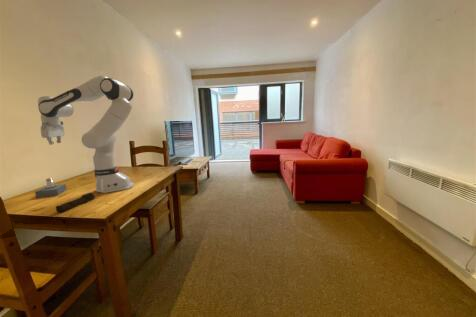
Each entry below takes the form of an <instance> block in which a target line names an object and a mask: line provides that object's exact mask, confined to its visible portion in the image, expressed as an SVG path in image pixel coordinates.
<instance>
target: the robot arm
mask: <svg viewBox="0 0 476 317" xmlns="http://www.w3.org/2000/svg"><path fill="white" fill-rule="evenodd" d="M104 96H105V97H106V98H107V99H108V100H110V101H111V104H110V106H109V107H108V108H107V110H106V112H105V113H104V114H103V116H101V119H99V121H98V122H97V123H95V124H94V125H93V126H92V127H91V128H90V129H89V130H88V131H86V132H85V133H84V134H83V135H82V136H81V143H82V145H83V146H84V147H86V148H88V149H94V150H95V152H94V155H93V156H92V160H93V166H94V176H95V180H96V181H95V182H96V186H95V192H97V193H102V194H106V193H112V192H118V191H123V190H130V189H131V188H133V187H134V186H135V183H134V181H131V179H130V177H129V176H128V175H127V174H124V173H122V172H120V169H119V166H115V160H114V149H115V148H114V147H115V142H116V141H117V140H116V139H117V136H116V134H115V133H116V132H117V131H119V130H120V128H121V127H122V125H123V124H124V123H125V121H126V120H127V118H128V116H129V115H130V114H131V111H132V107H133V106H132V104H131V102H130V101H132V100H133V98H134V92H133V89H132V88H131V87H130V86H128V85H126V84H125V83H123V82H121V81H119V80H116V79H114V78H112V77H111V78H110V77H108V76H106V75H104V74H103V75H101V74H100V75H97V76H95V77H93V78H91V79H89V80H87V81H86V82H84V83H82V84H80V85H78V86H76V87H73V88H72V89H69V90H67V91H65V92H63V93H61V94H58V95H57V96H55V97H53V96H50V95H48V96H47V95H46V96H41V97H39V98H38V100H37V106H38V107H37V108H38V111H39V113H40V120H41V125H40V134H41V138H42V139H46V140H47V142H48V144H49V145H54V141H53V138H56V143H57V144H62V136H63V137H64V136H65V129H64V128H65V127H64V122H63V121H62V120H61V119H60V118H68V117H71V116H72V115H73V114H74V108H73V105H72V104H73V103H77V102H93V101H94V102H95V101H97V100H99V99H101V98H102V97H104Z"/></svg>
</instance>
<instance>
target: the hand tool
mask: <svg viewBox="0 0 476 317" xmlns="http://www.w3.org/2000/svg"><path fill="white" fill-rule="evenodd" d="M94 199H95V195H94V193H93V192H88V193H85V194H82V195H81V197H78V198H76V199H73V200H70V201H68V202H65V203H63V204H60V205H56V206H55V212H57V213H60V214H61V213H63V212H66V211H67V210H69V209H71V208H74V207H77V206H79V205H81V204H84V203H85V204H86V203H89V202H91V201H93V200H94Z"/></svg>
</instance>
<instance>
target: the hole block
mask: <svg viewBox="0 0 476 317" xmlns="http://www.w3.org/2000/svg"><path fill="white" fill-rule="evenodd" d="M66 184H67V183H65V184H64V183H62V184H54V188H51V189H48V187H47V185H45V186H43V187H41V188H39V189H37V190H36V191H34V194H35V198H36V199H38V198H47V197H53V196H54V197H55V196H60V195H61V194H63V193H64V192H65V191H67V185H66Z"/></svg>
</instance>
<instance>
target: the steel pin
mask: <svg viewBox="0 0 476 317" xmlns="http://www.w3.org/2000/svg"><path fill="white" fill-rule="evenodd" d="M45 182H46V186H47V187H48V189H51V188H54V185H55V184H54V180H53V178H52V177H48V178H45Z"/></svg>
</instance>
